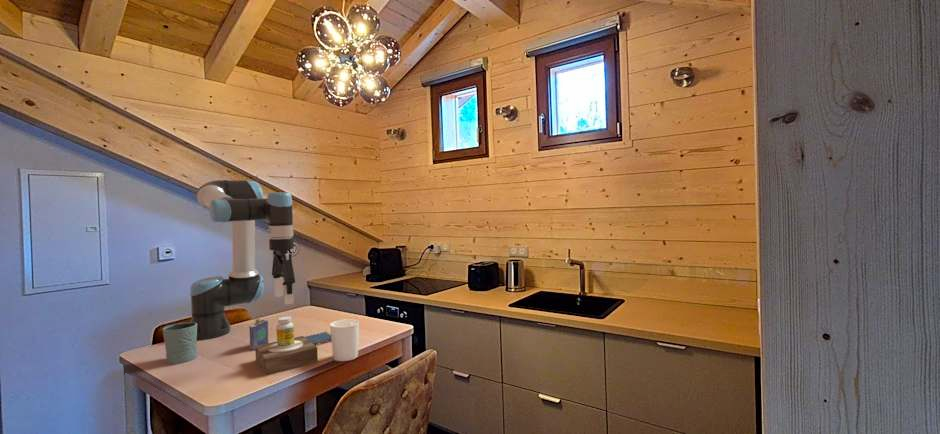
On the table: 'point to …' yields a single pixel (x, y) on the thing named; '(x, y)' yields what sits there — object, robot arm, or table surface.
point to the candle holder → (345, 339)
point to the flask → (258, 333)
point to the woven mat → (319, 338)
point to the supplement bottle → (285, 332)
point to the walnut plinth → (286, 355)
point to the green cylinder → (180, 342)
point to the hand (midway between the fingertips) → (283, 300)
